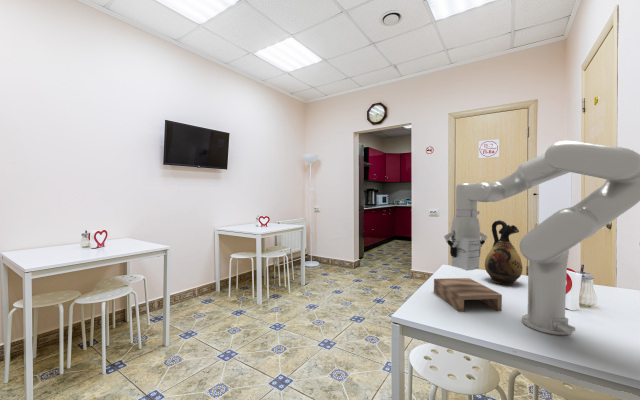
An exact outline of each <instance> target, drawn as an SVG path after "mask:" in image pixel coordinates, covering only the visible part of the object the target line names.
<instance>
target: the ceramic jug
mask: <svg viewBox="0 0 640 400" xmlns="http://www.w3.org/2000/svg"><path fill="white" fill-rule="evenodd" d="M499 225H501V226H502V227H501V228H500V229H499V231H497V226H499ZM491 232H492V237H493V241H494V242H493V244H492V247H491V249H490V250H489V251H488V253H487V255H486V258H485V261H484V268H485V270H486V273H487V274H488V276H489V277H490V281H492V283H496V284H497V285H500V284H501V286H513V285H514V283H515V282H516V281H517V280H519V278H520V277H521V276H522V273H523V263H522V258H521V257H520V254H519V252H518V251H517V250H516V248H515V246H514V245H513V243H512V242H511V241H510V236H511V235H513V234H518V233H519V232H520V230H519V228H518V227H517V226H515V225H514V224H513V225H510V224H507V223H506V221H503V220H500V219H499V220H495V221H494V222H492V224H491ZM498 234H499V235H500V237H499V236H498Z"/></svg>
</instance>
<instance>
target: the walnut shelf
mask: <svg viewBox="0 0 640 400" xmlns="http://www.w3.org/2000/svg"><path fill="white" fill-rule="evenodd" d="M433 293H434V294H436V296H438V297H439V298H440V299H442V300H443V301H444V302H446V303H448V304H449V305H450V306H451V307H453V308H454V309H455V310H457V311H458V312H459V313H464V312H465V301H467V300H479V301H481V302H482V303H484V304H486V305H487V306H489V307H490V308H492V309H494V310H496V311H497V312H501V311H502V309H503V308H502V307H503V295H502V294H501V293H499V292H498V291H495V290H494V289H491V288H490V287H487V286H486V285H484V284H482V283H479V282H478V281H476V280H474V279H472V278H470V277H459V278H458V277H457V278H456V277H454V278H453V277H452V278H433Z"/></svg>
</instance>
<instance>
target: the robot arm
mask: <svg viewBox="0 0 640 400" xmlns="http://www.w3.org/2000/svg"><path fill="white" fill-rule="evenodd" d="M568 173H573V174H579V175H583V176H589V177H594V178H598V179H603V180H605V182H604V183H603V184H602V185H601V186H600V187H598V188H597V189H595V190H594V191H592V192H591V193H590V194H589V195H588V196H586V197H585V198H583V199H582V200H580V201H579V202H577V203H576V204H575V205H573V206H570V207H565V208H562V209H560V210H557V211H555V212H554V213H553V214H551V215H550V216H548V217H547V218H546V219H545V220H543V221H542V222H540V223H539V224H538V225H536V226H535V227H534V228H532V229H531V230H530V231H529V232H527V233H526V234H524V236H523V237H522V238H521V239H520V241H519V252H520V253H521V255H522V256H523V257H524V258H525V259H526V260H528V261H529V263H528V277H527V281H528V283H527V314H523V315H522V316H521V321H522V323H523V324H525V326H526V327H528V328H531V329H533V330H536V331H538V332H540V333H545V334H549V335H550V334H551V335H557V336H567V335H572V334H573V332H575V331H576V327H575V326H572V325H571V324H569V318H568V317H566V297H567V296H566V295H567V294H566V293H567V292H566V291H567V289H566V287H567V271H568V270H567V268H568V260H569V254H570V253H569V250H570V249H572V248H574V247H575V246H576V245H578V244H579V243H581V242H583V241H585V240H587V239H588V238H590V237H593V236H594V235H595V234H597V233H598V232H599V231H601V229H603V228H604V227H605V226H608V225H609V224H610V223H611V222H612V221H614V220H616V219H618V218H619V217H620V216H621V215H624V213H626V212H627V211H629V210H630V209H632V208H634V207H635V206H636V205H637V204H638V203H639V202H640V153H638V152H636V151H635V150H633V149H630V148H626V147H621V146H619V147H618V146H614V145H605V144H596V143H591V142H590V143H589V142H580V141H575V140H570V139H569V140H567V139H566V140H559V141H557V142H555V143H552V144H551V145H550V146H549V147H548V148H547V149H546V150H545V152H544V153H542V154H540V155H538V156H535V157H533V158H531V159H529V160H527V161H524V162H523V163H521V164H520V165H519V166H518V167H517V169H516V170H515V171H514V172H512V173H511V174H509V175H508V176H506V177H503V178H501V179H499V180H497V181H494V182H489V181H487V182H485V181H483V182H476V183H471V182H470V183H467V182H465V183H463V182H462V183H458V184H457V185H456V186H455V216H453V217H452V221H451V227H450V228H451V229H450V232H449V233H447V234H445V235H443V238H444V240H445V241H446V243H447V244H448V246H449V247H450V250H449V251H450V252H449V253H450V256H451V258H452V257H457V248H456V245H457V244H458V243H460V242H461V238H465V237H471V238H480V248H482V247H483V245H484V244H486V243H485V242H486V241H487V238H488V235H486V234H484V233H482V232H481V227H480V226H481V225H480V221H479V218H478V215H480V211H479V210H478V202H480V203H495V202H500V201H502V200H506V199H508V198H511V197H513V196H517V195H518V194H520V193H522V192H525V191H527V190H529V189H532V188H533V187H535V186H538V185H541V184H543V183H546V182H549V181H551V180H553V179H556V178H559V177H561V176H564V175H566V174H568ZM452 236H455V238H456V240H455V239H452ZM454 241H455V242H454ZM480 257H481V253H480V254H479V258H480Z"/></svg>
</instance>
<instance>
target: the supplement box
mask: <svg viewBox="0 0 640 400" xmlns="http://www.w3.org/2000/svg"><path fill="white" fill-rule="evenodd" d="M452 239H455V240H456V238H455V236H452ZM480 240H481V237H480V238H471V237H465V238H461V242H460V243H458V244H457V245H456V248H457V257H452V256H451V267H454V268H458V269H460V270H461V269H462V270H464V271H474V270H480V257H479V254H480V255H481V247H480ZM454 242H455V241H454Z"/></svg>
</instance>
